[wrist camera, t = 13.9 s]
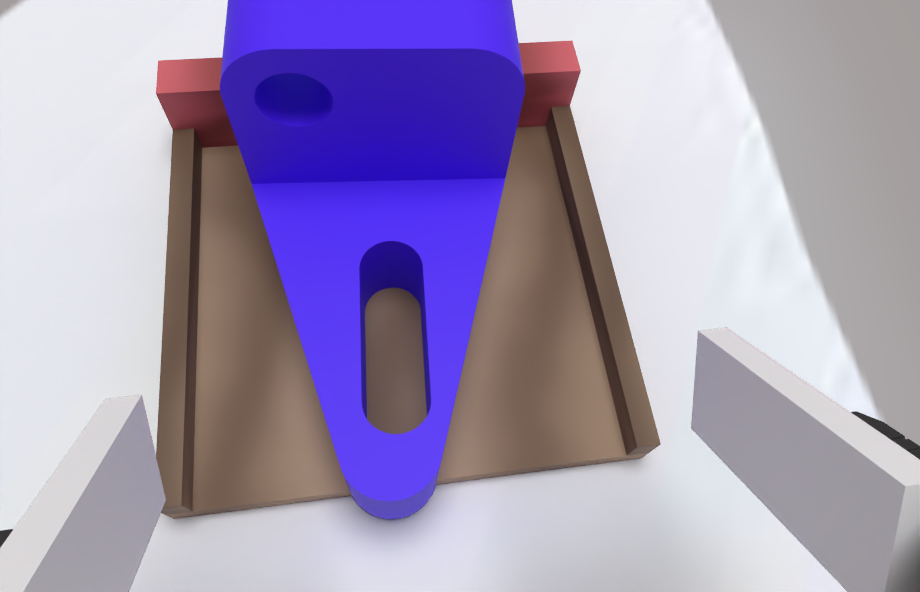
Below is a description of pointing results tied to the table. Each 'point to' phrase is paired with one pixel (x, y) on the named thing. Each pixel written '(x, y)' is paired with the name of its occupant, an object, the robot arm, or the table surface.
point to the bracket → (377, 192)
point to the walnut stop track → (388, 323)
